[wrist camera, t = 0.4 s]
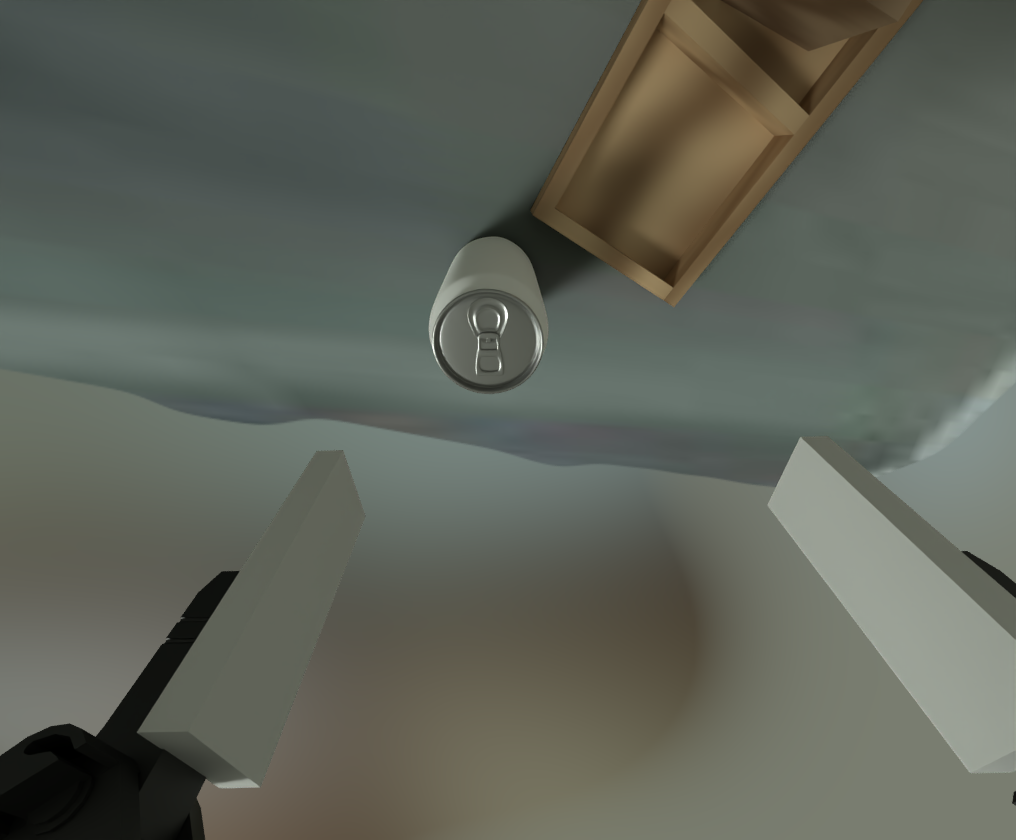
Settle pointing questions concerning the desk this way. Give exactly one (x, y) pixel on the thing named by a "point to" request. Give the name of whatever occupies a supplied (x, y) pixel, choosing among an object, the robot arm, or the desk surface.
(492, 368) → the can
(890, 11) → the walnut block
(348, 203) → the desk surface
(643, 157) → the caddy
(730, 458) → the desk surface
